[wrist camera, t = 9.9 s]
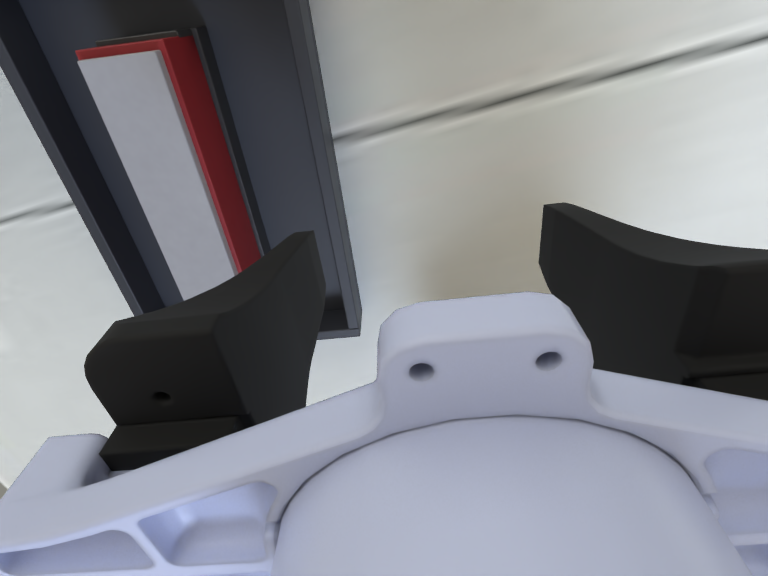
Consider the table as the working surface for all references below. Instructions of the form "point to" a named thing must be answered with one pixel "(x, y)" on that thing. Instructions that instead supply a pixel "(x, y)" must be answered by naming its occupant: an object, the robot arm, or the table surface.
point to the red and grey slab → (179, 151)
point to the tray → (249, 112)
